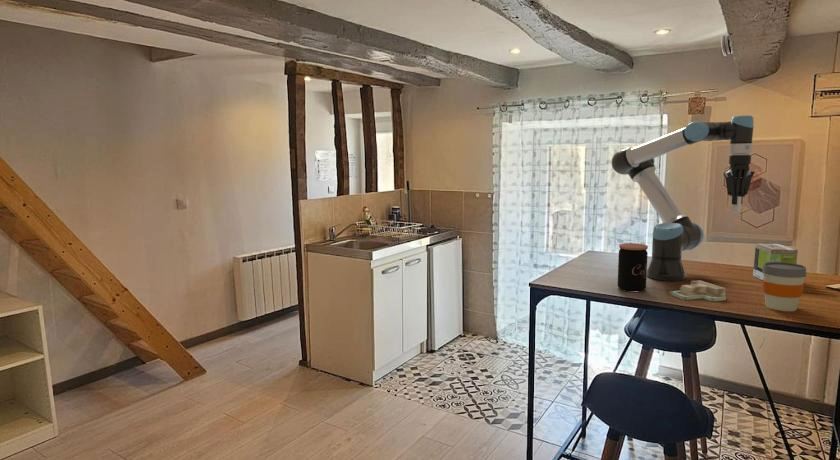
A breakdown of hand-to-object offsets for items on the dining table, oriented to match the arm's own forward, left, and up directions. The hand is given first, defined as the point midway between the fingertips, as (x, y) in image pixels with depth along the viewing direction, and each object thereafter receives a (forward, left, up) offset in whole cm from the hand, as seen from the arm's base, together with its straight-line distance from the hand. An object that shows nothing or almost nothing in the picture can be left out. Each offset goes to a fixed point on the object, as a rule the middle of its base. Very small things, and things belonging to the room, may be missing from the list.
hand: (736, 212), depth 210 cm
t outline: (+13, -29, -29) cm, 43 cm away
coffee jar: (-2, -46, -30) cm, 55 cm away
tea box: (+3, +18, -30) cm, 35 cm away
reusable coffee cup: (+34, -12, -30) cm, 47 cm away
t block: (+13, -28, -29) cm, 42 cm away
